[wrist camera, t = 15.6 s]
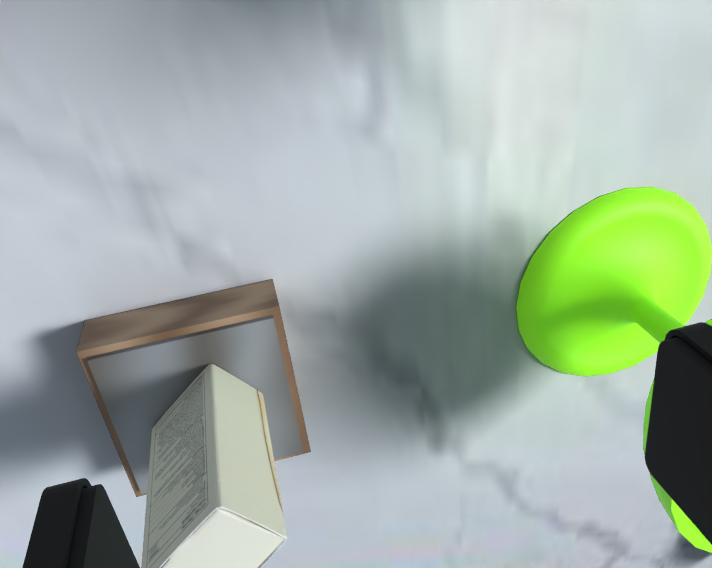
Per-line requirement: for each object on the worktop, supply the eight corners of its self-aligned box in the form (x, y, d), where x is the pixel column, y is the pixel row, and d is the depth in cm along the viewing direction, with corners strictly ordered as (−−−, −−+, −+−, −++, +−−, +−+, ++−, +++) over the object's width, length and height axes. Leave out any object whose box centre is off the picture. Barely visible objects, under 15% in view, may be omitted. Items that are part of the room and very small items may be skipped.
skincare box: (205, 455, 43) (211, 621, 32) (147, 426, 41) (134, 595, 30) (266, 389, 42) (293, 541, 31) (209, 356, 40) (217, 507, 29)
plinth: (272, 279, 43) (280, 309, 39) (302, 418, 48) (311, 455, 45) (84, 320, 41) (75, 355, 38) (139, 459, 47) (135, 501, 43)
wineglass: (734, 291, 52) (964, 440, 37) (570, 407, 54) (724, 595, 39) (668, 140, 45) (925, 249, 29) (478, 282, 46) (625, 455, 31)
